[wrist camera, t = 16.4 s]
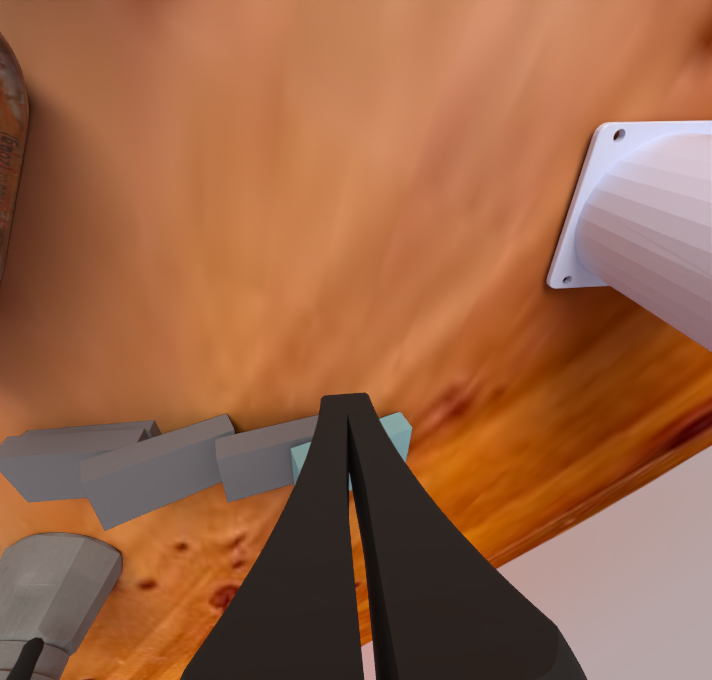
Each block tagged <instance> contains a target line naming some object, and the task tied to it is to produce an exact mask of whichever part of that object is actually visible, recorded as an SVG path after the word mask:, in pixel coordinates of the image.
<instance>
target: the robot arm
mask: <svg viewBox="0 0 712 680" xmlns="http://www.w3.org/2000/svg"><path fill="white" fill-rule="evenodd" d="M618 130H619V135H618V137H617V138H616V139H615V140H613V137H614V134H615V133H616V132H617V131H618ZM567 276H568V277H567ZM565 277H567V279H566V280H565V281H563V279H564V278H565ZM546 282H547V284H548V285H549V286H550V287H551V288H554V289H559V288H578V287H596V286H611V287H613V288H614V289H616V290H617V291H619V292H620V293H622V294H623V295H625V296H626V297H628V298H630V299H631V300H633V301H634V302H636V303H637V304H639V305H640V306H642V307H643V308H645V309H646V310H648V311H649V312H651V313H652V314H654V315H656V316H657V317H659V318H660V319H662V320H663V321H665V322H666V323H668V324H669V325H671V326H672V327H674V328H675V329H677V330H678V331H680V332H682V333H683V334H685V335H686V336H688V337H689V338H691V339H692V340H694V341H695V342H697V343H698V344H700V345H701V346H703V347H704V348H706V349H707V350H709V351H711V352H712V120H706V121H648V122H607V123H603V124H602V125H600V126H599V127H598V128H597V129H596V130H595V132H594V134H593V137H592V140H591V143H590V146H589V149H588V152H587V156H586V159H585V162H584V165H583V168H582V171H581V174H580V177H579V180H578V183H577V186H576V190H575V193H574V196H573V199H572V202H571V205H570V208H569V211H568V214H567V217H566V220H565V224H564V227H563V230H562V233H561V236H560V239H559V242H558V245H557V248H556V251H555V254H554V258H553V261H552V264H551V267H550V270H549V273H548V276H547V280H546ZM349 474H350V480H351V485H352V491H353V496H354V502H355V507H356V513H357V518H358V524H359V529H360V535H361V540H362V546H363V553H364V560H365V568H366V578H367V588H368V598H369V609H370V619H371V630H372V640H373V651H374V661H375V671H376V680H587V678H586V676H585V674H584V672H583V670H582V668H581V666H580V664H579V662H578V661H577V659H576V657H575V655H574V654H573V652H572V650H571V648H570V647H569V645H568V643H567V642H566V640H565V639H564V637H563V635H562V634H561V632H560V630H559V629H558V627H557V626H556V625H555V624H554V623H553V622H552V621H551V620H550V619H549V618H547V617H546V616H545V615H544V614H543V613H542V612H541V611H540V610H539V609H538V608H536V607H535V606H534V605H533V604H532V603H531V602H530V601H529V600H528V599H526V598H525V597H524V596H523V595H522V594H521V593H520V592H519V591H518V590H517V589H515V587H514V586H512V585H511V584H510V583H509V582H508V581H507V580H506V579H505V578H504V577H503V576H502V575H501V574H500V573H499V572H498V571H497V570H496V569H495V568H494V567H493V566H492V565H491V564H490V563H489V562H488V561H487V560H486V559H485V558H484V557H483V556H482V555H481V554H480V553H479V552H478V550H477V549H476V548H475V547H474V546H473V545H472V544H471V543H470V542H469V541H468V540H467V539H466V538H465V537H464V536H463V535H462V533H461V532H460V531H459V530H458V529H457V528H456V527H455V526H454V525H453V524H452V522H451V521H450V520H449V519H448V518H447V517H446V515H445V514H444V513H443V512H442V511H441V510H440V508H439V507H438V506H437V505H436V503H435V502H434V501H433V500H432V498H431V497H430V496H429V495H428V493H427V492H426V491H425V490H424V488H423V487H422V486H421V484H420V483H419V481H418V480H417V479H416V477H415V476H414V475H413V473H412V472H411V470H410V469H409V467H408V466H407V465H406V463H405V462H404V460H403V459H402V457H401V456H400V454H399V452H398V451H397V449H396V448H395V446H394V444H393V443H392V441H391V439H390V438H389V436H388V434H387V433H386V431H385V429H384V427H383V425H382V424H381V422H380V420H379V418H378V416H377V414H376V412H375V410H374V407H373V405H372V403H371V400H370V398H369V395H368V394H366V393H353V394H339V395H326V396H323V397H322V398H321V404H320V411H319V416H318V420H317V424H316V428H315V432H314V435H313V438H312V441H311V444H310V447H309V450H308V453H307V456H306V459H305V461H304V464H303V466H302V469H301V471H300V474H299V476H298V479H297V481H296V484H295V486H294V488H293V491H292V493H291V495H290V497H289V499H288V501H287V504H286V506H285V508H284V510H283V512H282V514H281V516H280V518H279V520H278V522H277V524H276V526H275V527H274V529H273V531H272V533H271V535H270V537H269V539H268V540H267V542H266V544H265V546H264V548H263V550H262V551H261V553H260V555H259V557H258V558H257V560H256V562H255V564H254V565H253V567H252V569H251V570H250V572H249V573H248V575H247V577H246V578H245V580H244V581H243V583H242V585H241V586H240V588H239V589H238V591H237V593H236V594H235V596H234V598H233V599H232V601H231V602H230V604H229V606H228V607H227V609H226V610H225V612H224V613H223V615H222V616H221V618H220V619H219V621H218V622H217V623H216V625H215V626H214V628H213V629H212V631H211V632H210V634H209V635H208V636H207V638H206V639H205V641H204V642H203V644H202V645H201V647H200V648H199V649H198V651H197V652H196V654H195V655H194V657H193V658H192V660H191V661H190V662H189V664H188V665H187V667H186V668H185V670H184V672H183V674H182V676H181V679H180V680H364V673H363V663H362V653H361V642H360V632H359V621H358V611H357V601H356V590H355V579H354V569H353V558H352V547H351V536H350V525H349Z"/></svg>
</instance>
